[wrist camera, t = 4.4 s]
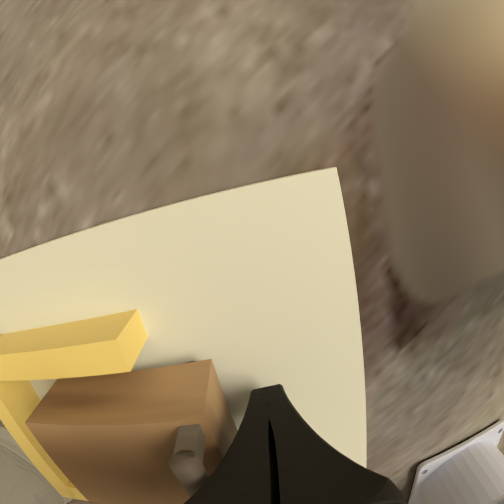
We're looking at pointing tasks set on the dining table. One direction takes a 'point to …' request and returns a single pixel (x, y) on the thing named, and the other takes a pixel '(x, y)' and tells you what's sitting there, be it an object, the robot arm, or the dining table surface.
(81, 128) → the dining table surface
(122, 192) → the dining table surface
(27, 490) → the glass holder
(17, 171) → the dining table surface
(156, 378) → the wooden block with handle
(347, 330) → the dock
